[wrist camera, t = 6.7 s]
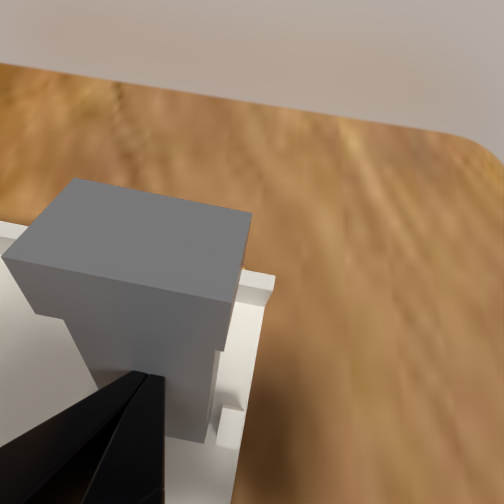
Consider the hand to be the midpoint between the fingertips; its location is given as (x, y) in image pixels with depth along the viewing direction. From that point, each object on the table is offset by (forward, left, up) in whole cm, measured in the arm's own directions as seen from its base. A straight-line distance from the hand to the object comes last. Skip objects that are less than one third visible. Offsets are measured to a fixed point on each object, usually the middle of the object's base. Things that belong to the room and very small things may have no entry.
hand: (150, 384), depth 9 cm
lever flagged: (-1, -1, -5) cm, 5 cm away
